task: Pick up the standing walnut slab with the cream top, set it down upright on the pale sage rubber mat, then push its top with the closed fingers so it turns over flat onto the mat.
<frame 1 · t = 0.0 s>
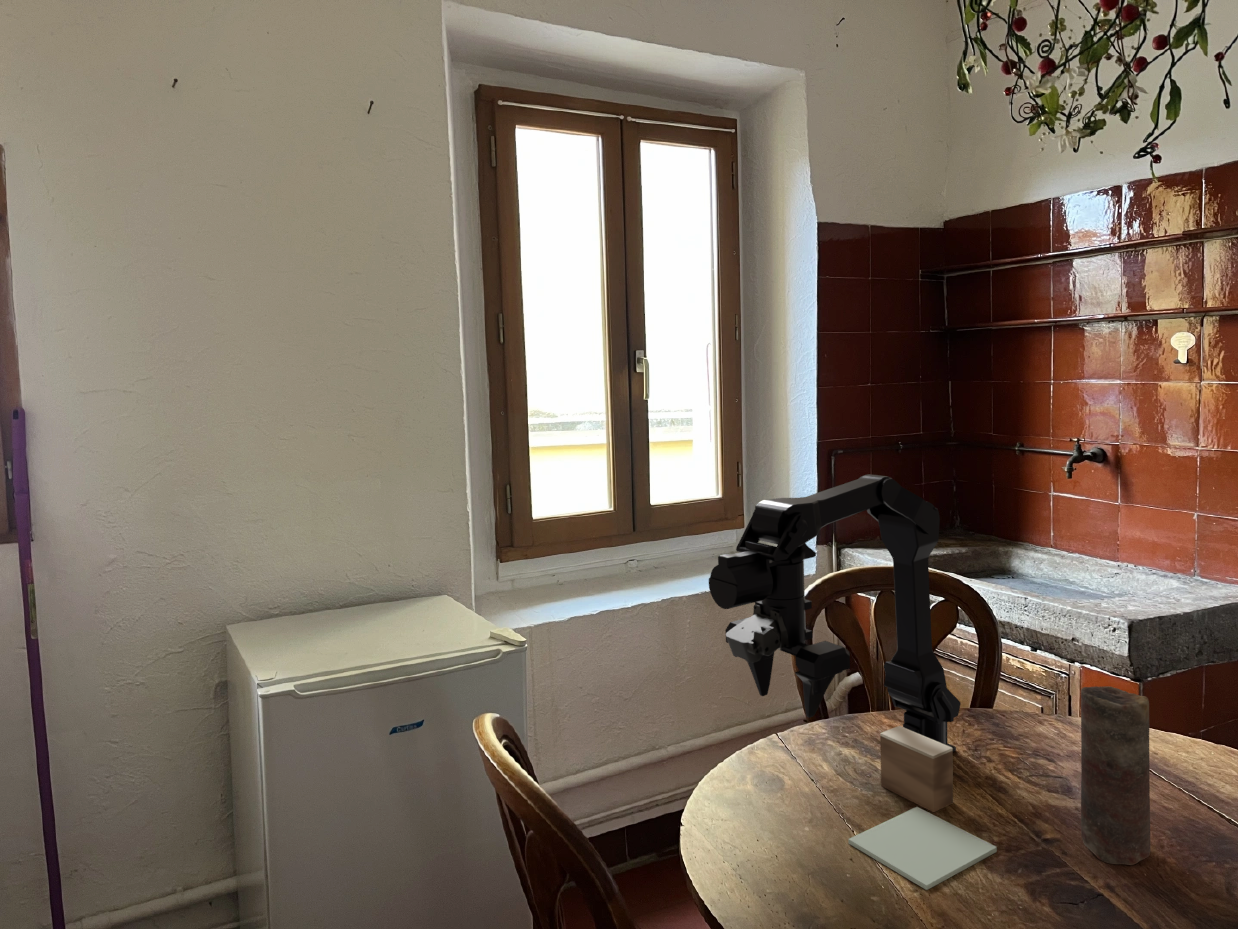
hand: (786, 705, 117), 15 cm above the table, fingers open, 9 cm apart
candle: (1114, 851, 105), on the table
walnut slab: (916, 794, 120), on the table
sage mat: (921, 847, 108), on the table
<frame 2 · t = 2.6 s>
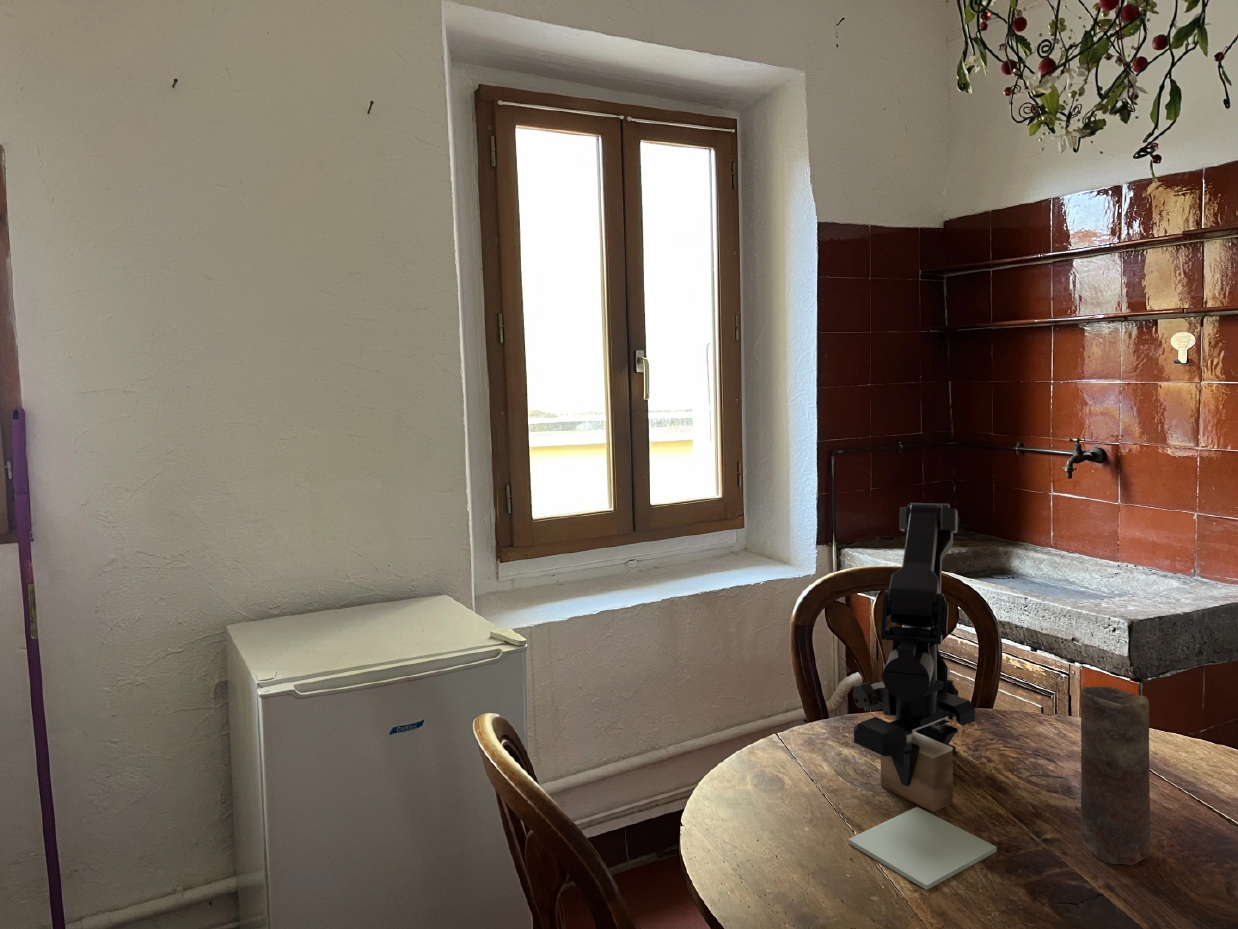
hand: (916, 780, 120), 2 cm above the table, fingers closed on walnut slab, 4 cm apart
walnut slab: (916, 794, 120), on the table, touching gripper
everything else where it was.
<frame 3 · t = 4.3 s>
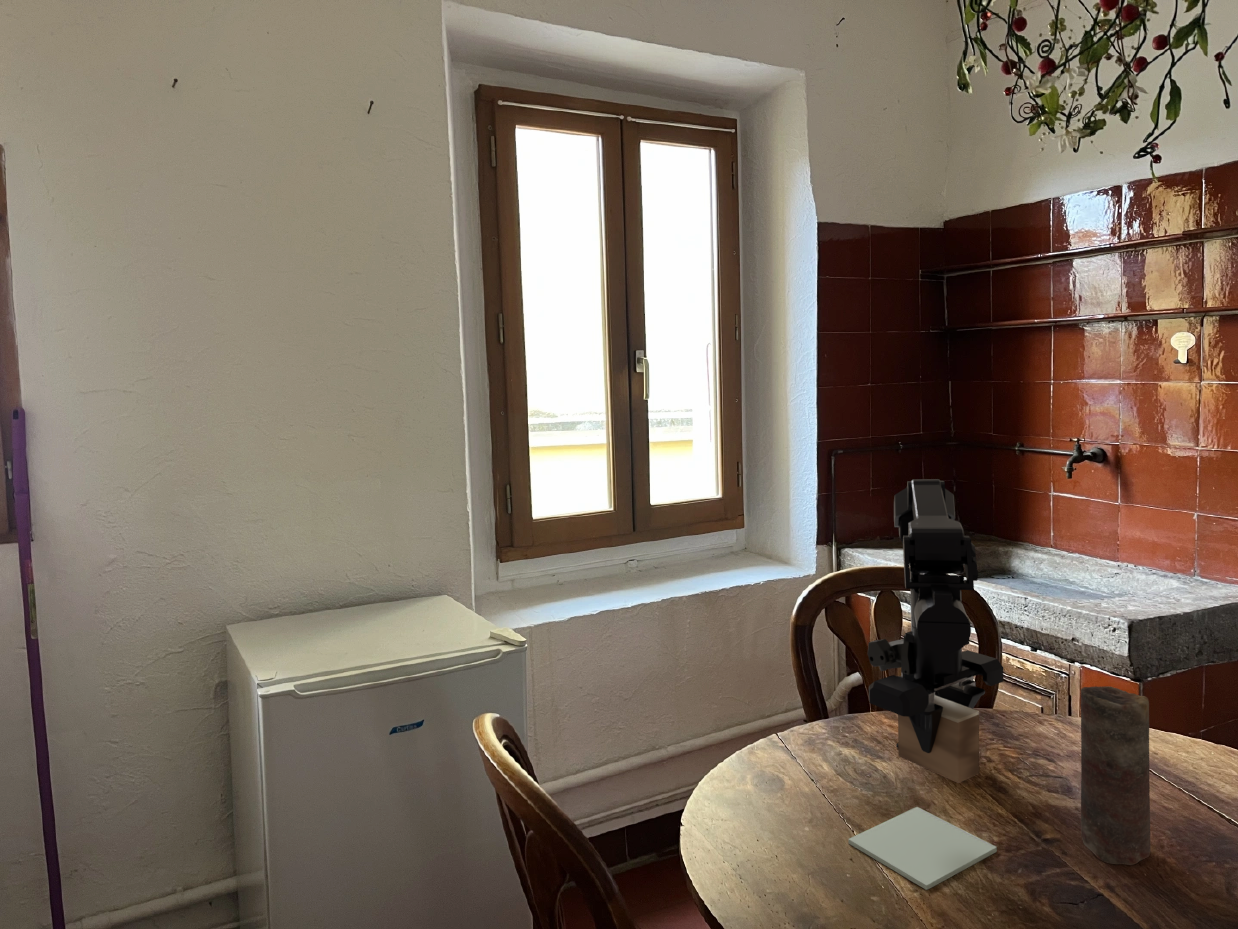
hand: (938, 747, 108), 12 cm above the table, fingers closed on walnut slab, 4 cm apart
walnut slab: (937, 764, 108), point 10 cm above the table, touching gripper
everything else where it was.
when the fingers open (3 cm above the table, at t = 6.1 s): walnut slab stays where it is, resting on sage mat.
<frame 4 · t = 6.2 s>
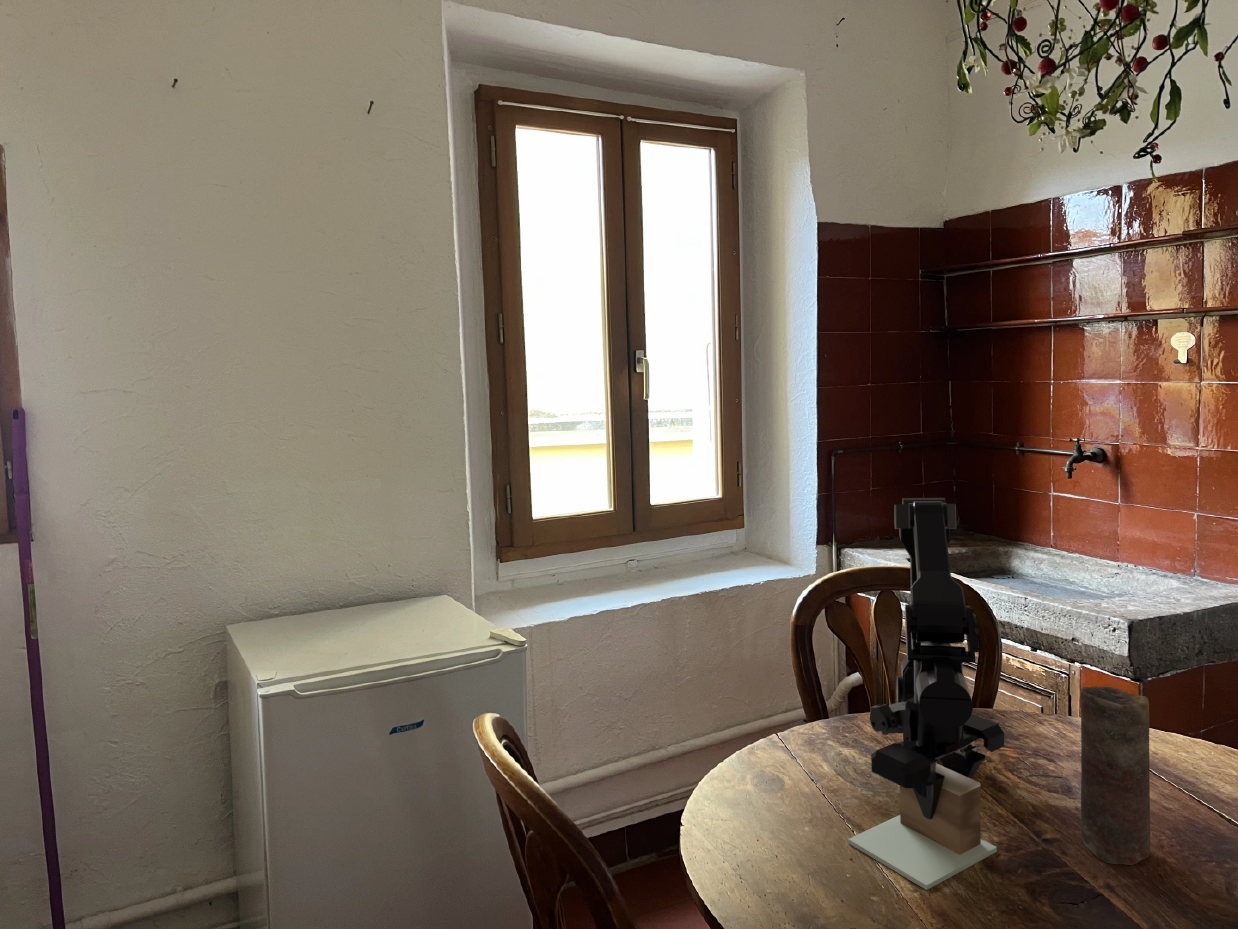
hand: (939, 812, 109), 3 cm above the table, fingers open, 4 cm apart
walnut slab: (939, 833, 109), point 1 cm above the table, touching sage mat
everything else where it was.
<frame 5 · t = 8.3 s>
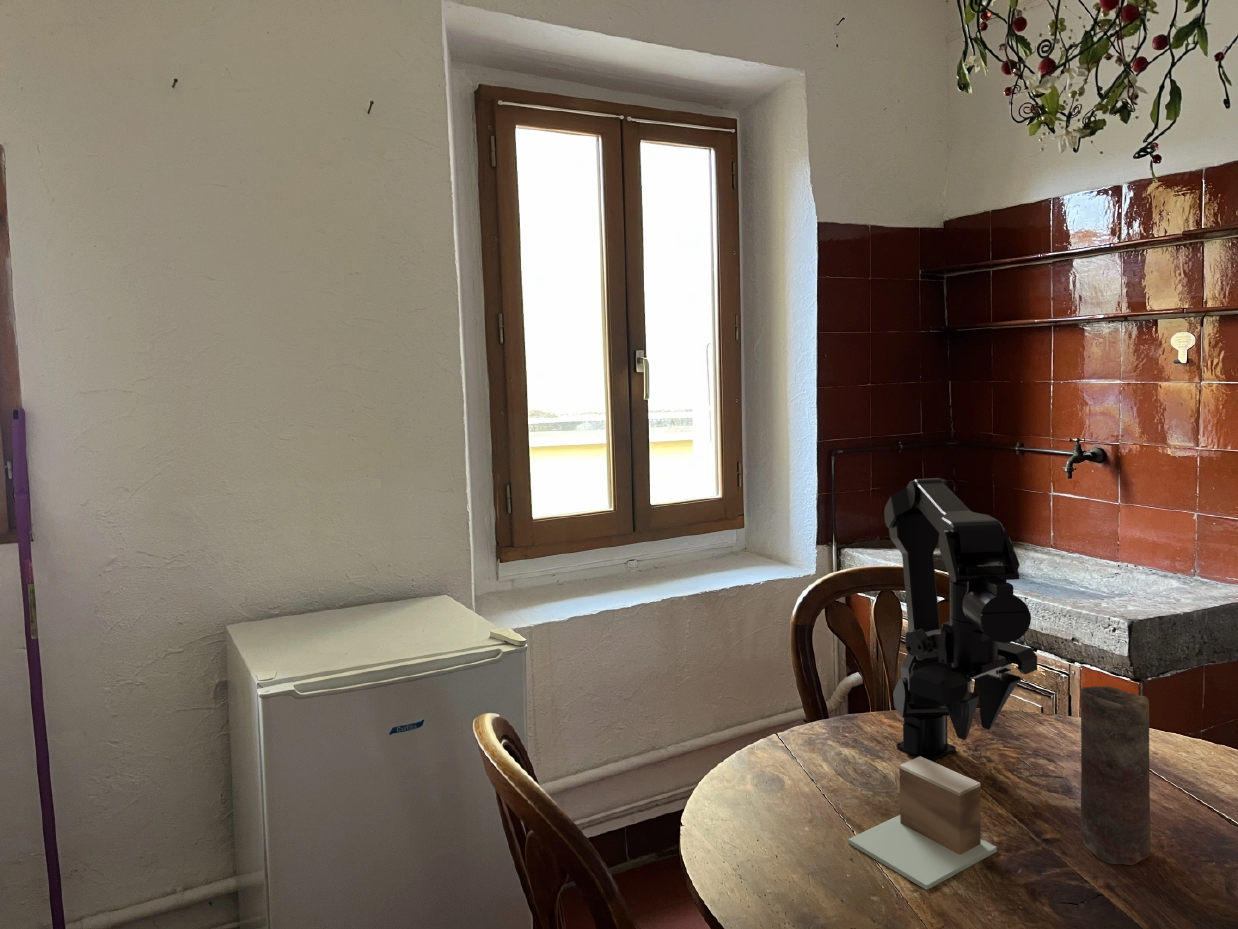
hand: (974, 733, 111), 12 cm above the table, fingers open, 5 cm apart
nothing on the table moved.
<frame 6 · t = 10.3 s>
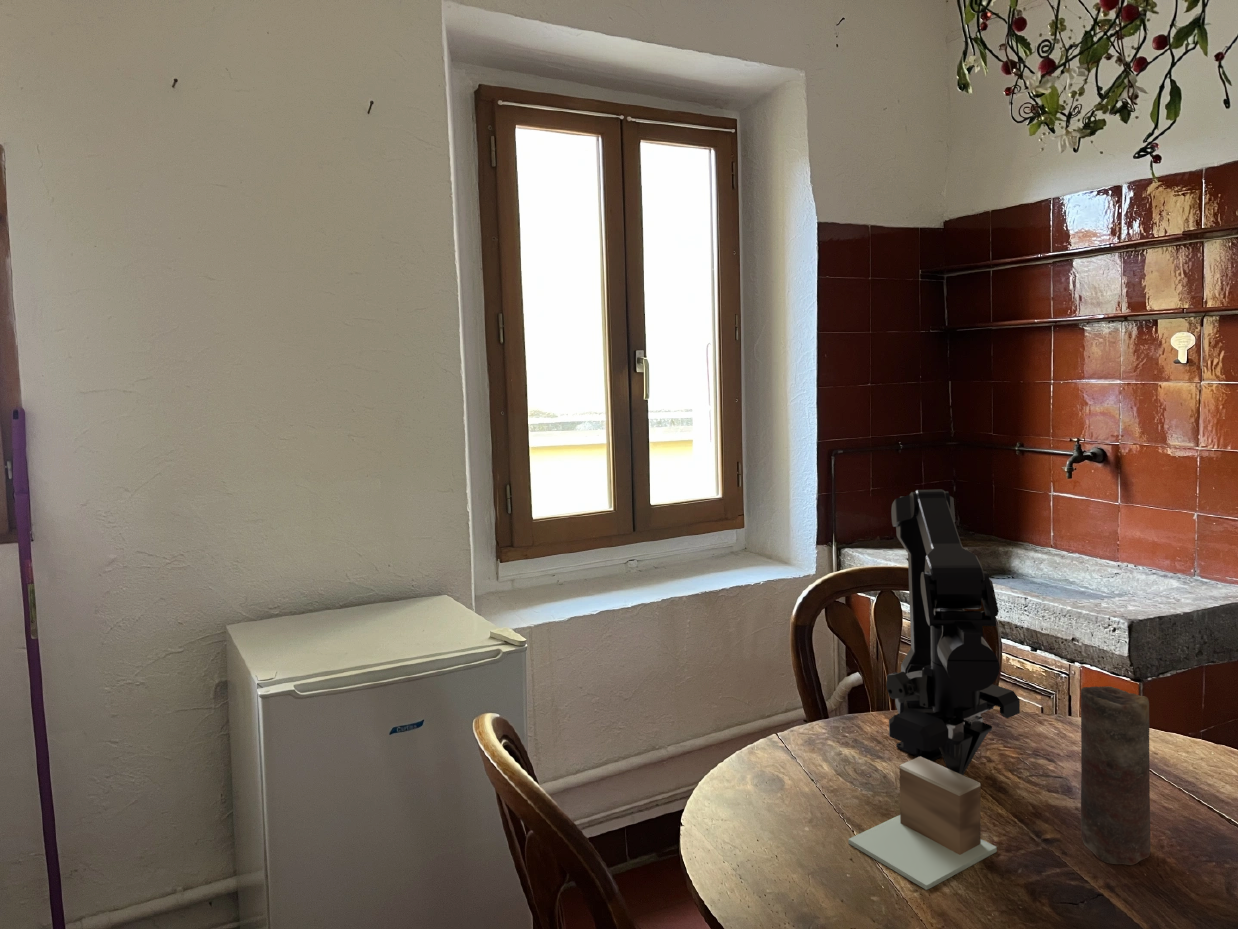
hand: (956, 778, 110), 7 cm above the table, fingers closed
walnut slab: (939, 833, 109), point 1 cm above the table, touching gripper, sage mat
everything else where it was.
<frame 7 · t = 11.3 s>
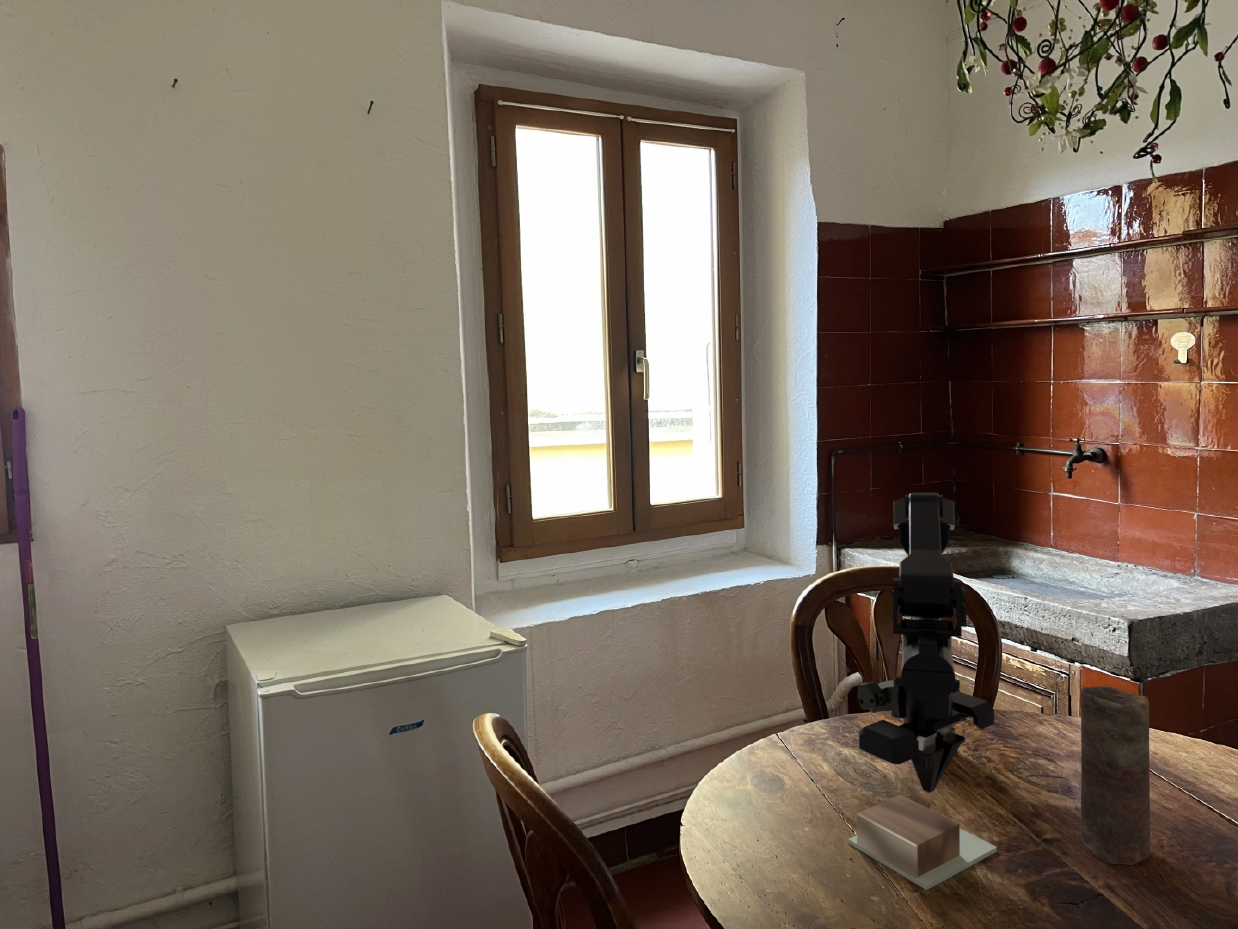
hand: (928, 791, 107), 7 cm above the table, fingers closed
walnut slab: (928, 823, 108), point 3 cm above the table, tilted 90°, touching sage mat
everything else where it was.
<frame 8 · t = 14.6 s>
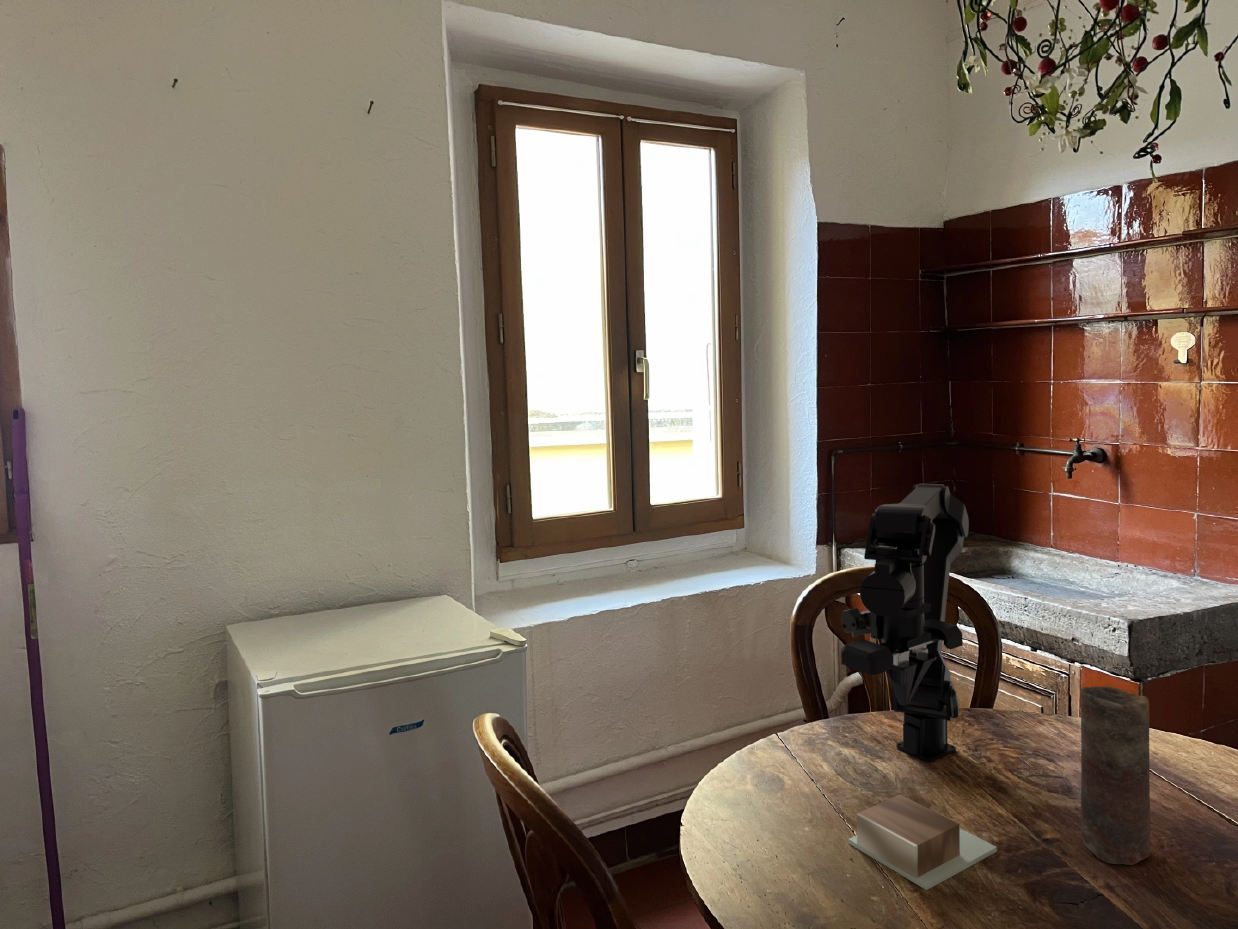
hand: (903, 704, 120), 13 cm above the table, fingers closed
nothing on the table moved.
at the end: walnut slab tilted 90°; walnut slab inside the target area (3.6 cm from its centre), point 2.6 cm above the table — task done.
